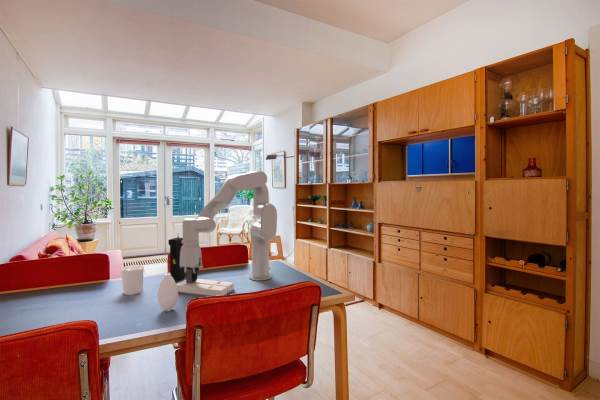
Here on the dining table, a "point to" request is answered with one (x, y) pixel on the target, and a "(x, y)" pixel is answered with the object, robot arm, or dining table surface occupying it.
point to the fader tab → (189, 275)
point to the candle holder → (132, 279)
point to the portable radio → (176, 259)
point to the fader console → (205, 288)
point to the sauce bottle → (167, 293)
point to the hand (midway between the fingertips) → (191, 279)
